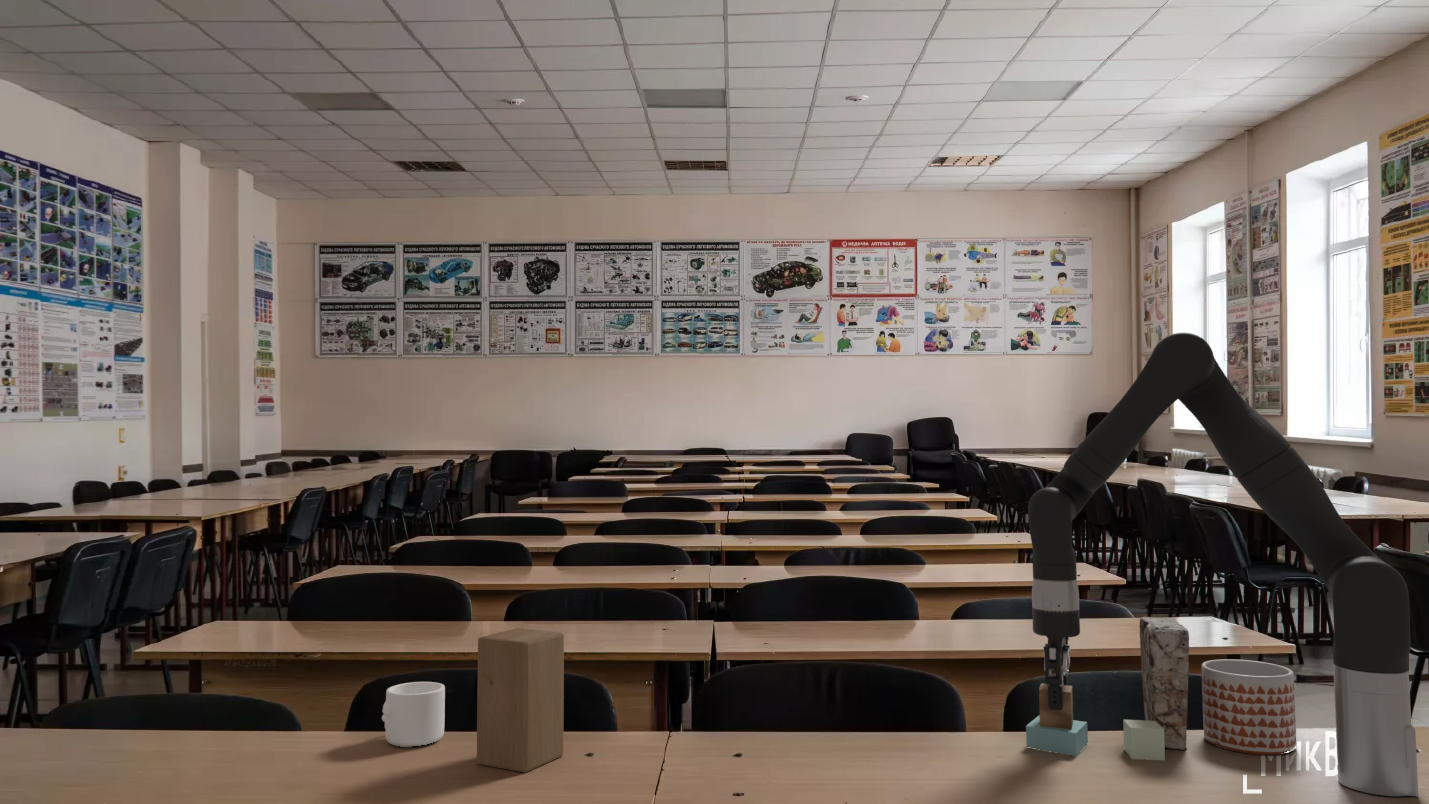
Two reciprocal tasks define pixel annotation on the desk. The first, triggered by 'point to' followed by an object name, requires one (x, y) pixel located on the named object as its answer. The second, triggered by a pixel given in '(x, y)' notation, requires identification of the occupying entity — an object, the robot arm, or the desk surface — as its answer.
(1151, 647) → the stone block
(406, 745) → the mug
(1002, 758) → the desk surface
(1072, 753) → the teal pedestal
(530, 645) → the wooden block
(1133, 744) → the sage block
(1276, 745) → the planter
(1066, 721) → the walnut block
